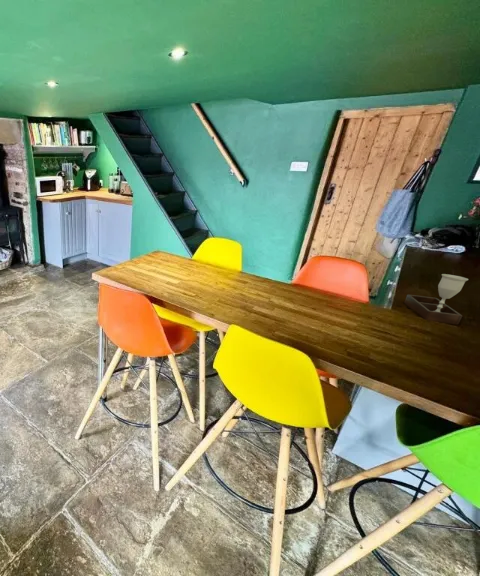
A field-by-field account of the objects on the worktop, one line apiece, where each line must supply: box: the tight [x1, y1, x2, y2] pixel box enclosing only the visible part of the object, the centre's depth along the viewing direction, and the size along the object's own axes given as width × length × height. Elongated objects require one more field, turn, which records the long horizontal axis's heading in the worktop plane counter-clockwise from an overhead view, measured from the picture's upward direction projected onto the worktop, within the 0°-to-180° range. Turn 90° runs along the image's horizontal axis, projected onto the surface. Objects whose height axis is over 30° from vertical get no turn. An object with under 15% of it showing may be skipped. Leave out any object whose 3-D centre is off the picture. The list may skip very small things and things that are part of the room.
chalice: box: [435, 273, 469, 312], centre depth 124 cm, size 7×7×18 cm
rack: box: [403, 293, 463, 325], centre depth 130 cm, size 10×19×5 cm, turn 155°
